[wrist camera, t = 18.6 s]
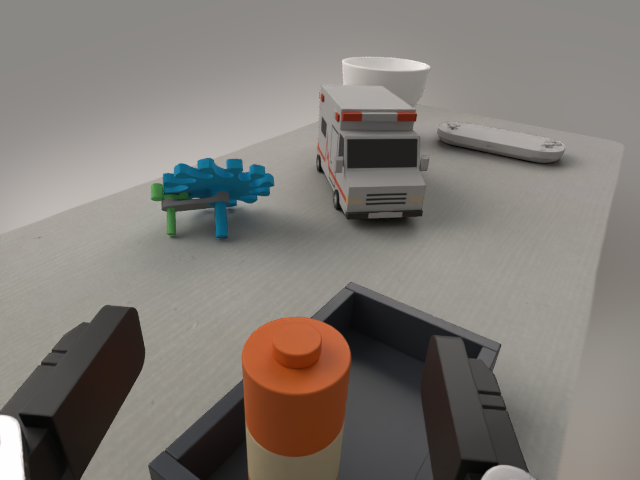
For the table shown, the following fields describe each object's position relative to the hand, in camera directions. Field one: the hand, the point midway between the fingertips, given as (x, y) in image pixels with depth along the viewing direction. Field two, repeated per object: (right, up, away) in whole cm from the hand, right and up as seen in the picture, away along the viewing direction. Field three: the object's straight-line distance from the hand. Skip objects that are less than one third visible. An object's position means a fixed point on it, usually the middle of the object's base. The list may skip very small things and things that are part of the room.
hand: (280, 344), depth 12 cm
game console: (+28, +16, +55) cm, 64 cm away
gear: (-9, +4, +31) cm, 32 cm away
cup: (+10, +18, +56) cm, 60 cm away
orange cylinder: (0, -9, +7) cm, 11 cm away
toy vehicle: (+6, +8, +39) cm, 40 cm away
